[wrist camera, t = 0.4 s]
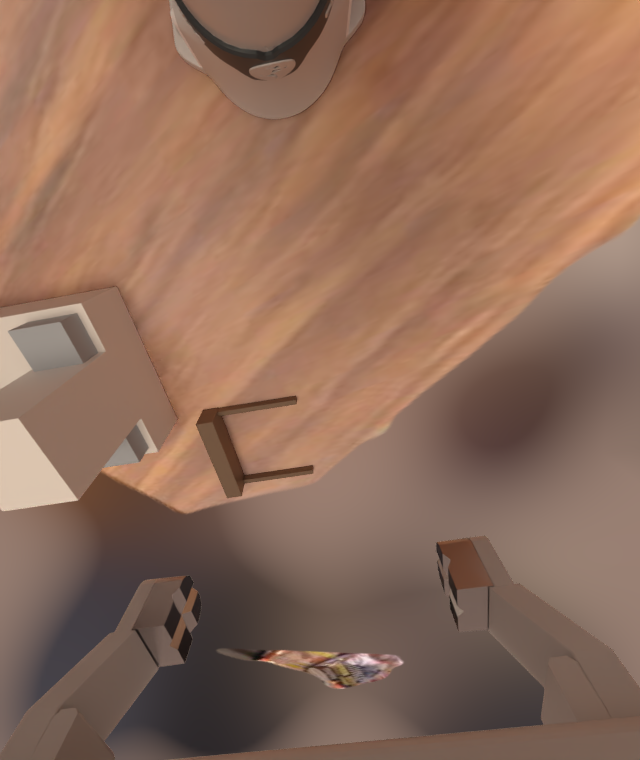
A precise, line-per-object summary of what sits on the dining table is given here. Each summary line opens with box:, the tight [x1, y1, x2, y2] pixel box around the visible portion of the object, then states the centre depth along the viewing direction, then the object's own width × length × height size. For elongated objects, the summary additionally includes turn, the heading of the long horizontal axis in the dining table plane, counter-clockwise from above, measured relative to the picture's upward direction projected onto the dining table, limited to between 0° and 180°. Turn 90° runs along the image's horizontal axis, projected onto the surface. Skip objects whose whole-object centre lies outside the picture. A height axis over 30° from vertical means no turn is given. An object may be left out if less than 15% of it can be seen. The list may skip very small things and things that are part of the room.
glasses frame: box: [196, 396, 313, 498], centre depth 56 cm, size 16×15×4 cm
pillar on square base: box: [0, 286, 178, 511], centre depth 41 cm, size 22×19×22 cm
